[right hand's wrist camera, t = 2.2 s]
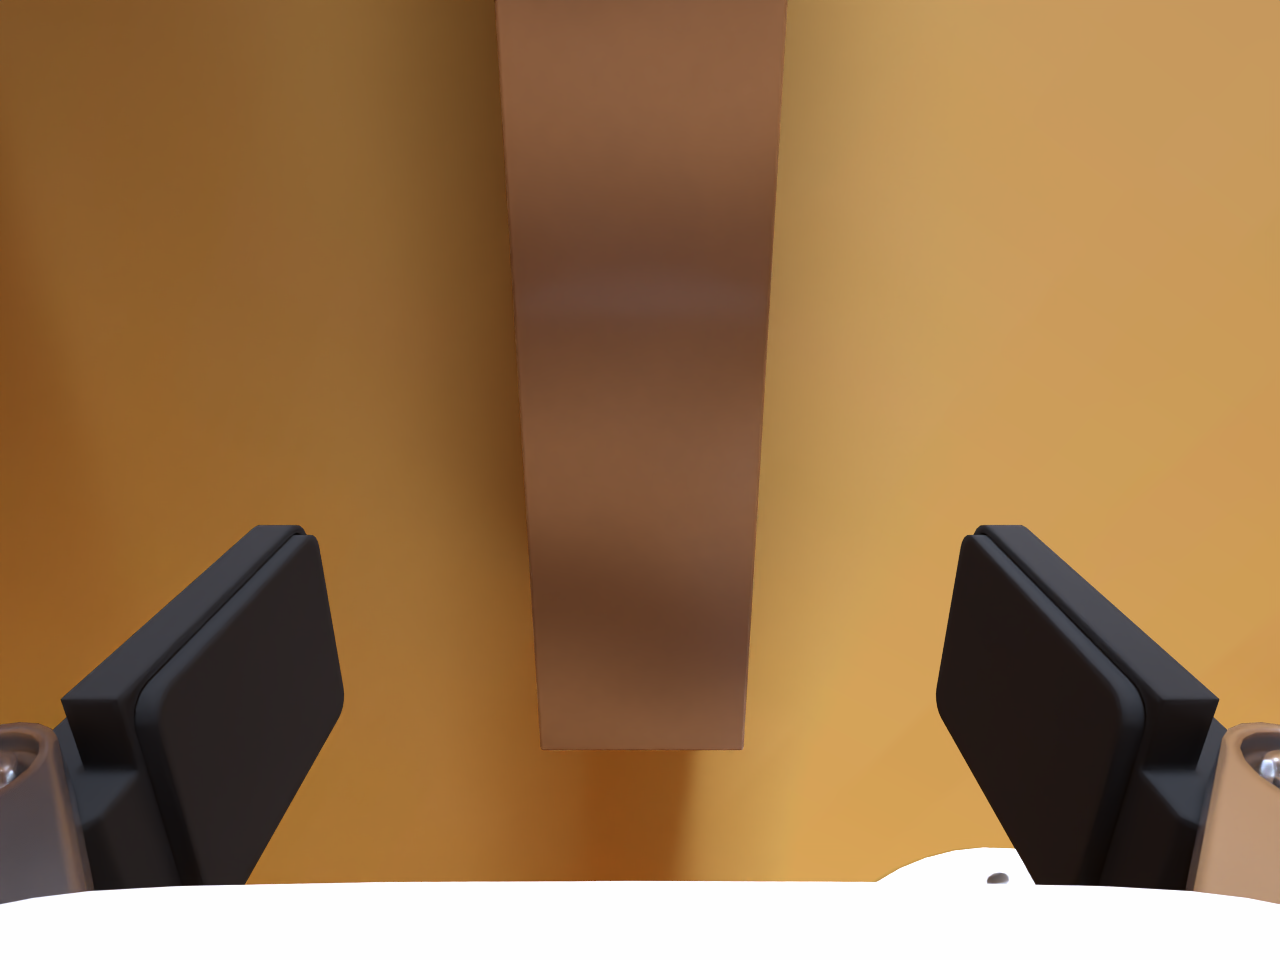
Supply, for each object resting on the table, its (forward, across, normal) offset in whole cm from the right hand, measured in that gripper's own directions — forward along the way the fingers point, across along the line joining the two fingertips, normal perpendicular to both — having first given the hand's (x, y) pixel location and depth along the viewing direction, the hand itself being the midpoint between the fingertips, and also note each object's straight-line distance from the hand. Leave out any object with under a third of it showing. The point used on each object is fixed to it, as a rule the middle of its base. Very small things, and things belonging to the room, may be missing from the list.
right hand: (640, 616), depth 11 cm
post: (+15, 0, +18) cm, 23 cm away
